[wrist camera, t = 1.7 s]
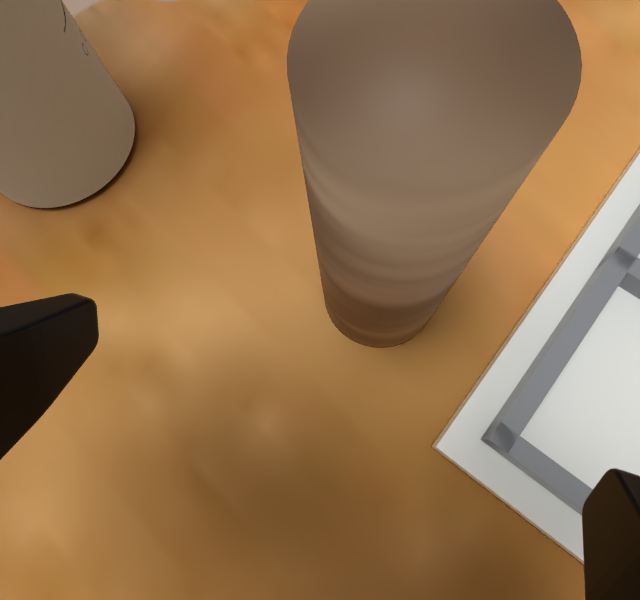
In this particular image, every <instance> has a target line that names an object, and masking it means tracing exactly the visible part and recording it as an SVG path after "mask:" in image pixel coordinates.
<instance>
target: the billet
mask: <svg viewBox="0 0 640 600" xmlns="http://www.w3.org/2000/svg"><path fill="white" fill-rule="evenodd" d="M581 69H582V63H581V52H580V46H579V43H578V39H577V35H576V32H575V30H574V28H573V25H572V23H571V21H570V19H569V17H568V15H567V14H566V12H565V11H564V9H563V7H562V6H561V5H560V3H559V2H558V1H557V0H309V1H308V2H307V4H306V5H305V7H304V9H303V10H302V12H301V13H300V15H299V17H298V19H297V21H296V23H295V26H294V28H293V30H292V34H291V38H290V41H289V45H288V54H287V75H288V81H289V87H290V93H291V99H292V105H293V111H294V117H295V123H296V129H297V135H298V141H299V147H300V154H301V160H302V166H303V172H304V178H305V184H306V190H307V196H308V202H309V208H310V214H311V220H312V226H313V232H314V238H315V244H316V251H317V257H318V263H319V269H320V275H321V281H322V287H323V293H324V299H325V304H326V308H327V311H328V314H329V316H330V318H331V320H332V322H333V323H334V324H335V326H336V327H337V328H338V329H339V330H340V331H341V332H342V333H343V334H344V335H345V336H347V337H348V338H350V339H351V340H353V341H355V342H357V343H359V344H362V345H365V346H370V347H391V346H395V345H398V344H401V343H404V342H406V341H408V340H410V339H411V338H413V337H414V336H415V335H416V334H418V333H419V332H420V331H421V330H422V329H423V327H424V326H425V325H426V323H427V322H428V320H429V319H430V317H431V316H432V315H433V313H434V312H435V310H436V309H437V307H438V306H439V304H440V303H441V301H442V300H443V299H444V297H445V296H446V294H447V293H448V291H449V290H450V288H451V287H452V285H453V284H454V282H455V281H456V280H457V278H458V277H459V275H460V274H461V272H462V271H463V269H464V268H465V266H466V265H467V263H468V262H469V261H470V259H471V258H472V256H473V255H474V253H475V252H476V250H477V249H478V247H479V246H480V244H481V243H482V242H483V240H484V239H485V237H486V236H487V234H488V233H489V231H490V230H491V228H492V227H493V225H494V224H495V223H496V221H497V220H498V218H499V217H500V215H501V214H502V212H503V211H504V209H505V208H506V207H507V205H508V204H509V202H510V201H511V199H512V198H513V196H514V195H515V193H516V192H517V190H518V189H519V188H520V186H521V185H522V183H523V182H524V180H525V179H526V177H527V176H528V174H529V173H530V171H531V170H532V169H533V167H534V166H535V164H536V163H537V161H538V160H539V158H540V157H541V155H542V154H543V152H544V151H545V150H546V148H547V147H548V145H549V144H550V142H551V141H552V139H553V138H554V136H555V135H556V133H557V132H558V131H559V129H560V128H561V126H562V125H563V123H564V121H565V120H566V118H567V117H568V115H569V114H570V112H571V109H572V107H573V105H574V102H575V100H576V98H577V94H578V90H579V86H580V82H581Z"/></svg>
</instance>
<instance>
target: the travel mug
mask: <svg viewBox="0 0 640 600" xmlns="http://www.w3.org/2000/svg"><path fill="white" fill-rule="evenodd" d="M134 135H135V122H134V116H133V113H132V110H131V107H130V105H129V103H128V102H127V100H126V98H125V97H124V95H123V94H122V92H121V91H120V89H119V88H118V86H117V84H116V83H115V81H114V80H113V78H112V77H111V75H110V74H109V72H108V71H107V69H106V68H105V66H104V65H103V63H102V61H101V60H100V58H99V57H98V55H97V54H96V52H95V51H94V49H93V48H92V46H91V45H90V43H89V42H88V40H87V38H86V37H85V35H84V34H83V32H82V31H81V29H80V28H79V26H78V25H77V23H76V22H75V20H74V19H73V17H72V15H71V14H70V12H69V11H68V10H67V8H66V6H65V5H64V3H63V2H62V0H0V193H1V194H3V195H4V196H5V197H7V198H8V199H10V200H12V201H14V202H16V203H19V204H22V205H25V206H30V207H36V208H53V207H60V206H65V205H69V204H72V203H75V202H78V201H80V200H82V199H84V198H87V197H88V196H90V195H92V194H94V193H95V192H97V191H98V190H100V189H101V188H102V187H104V186H105V185H106V184H107V183H108V182H109V181H110V180H111V179H112V178H113V177H114V176H115V175H116V174H117V173H118V172H119V170H120V169H121V168H122V166H123V165H124V163H125V161H126V159H127V157H128V155H129V153H130V151H131V148H132V145H133V141H134Z"/></svg>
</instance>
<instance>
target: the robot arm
mask: <svg viewBox="0 0 640 600" xmlns="http://www.w3.org/2000/svg"><path fill="white" fill-rule="evenodd" d="M98 338H99V332H98V318H97V306H96V304H95V302H94V301H93V300H92V299H90V298H87V297H84V296H81V295H78V294H74V293H70V294H64V295H59V296H55V297H50V298H45V299H40V300H35V301H30V302H25V303H20V304H15V305H10V306H5V307H0V460H1V459H2V458H3V457H4V455H5V454H6V453H7V452H8V451H9V450H10V449H11V448H12V447H13V446H14V445H15V444H16V443H17V442H18V441H19V440H20V439H21V438H22V437H23V436H24V434H25V433H26V432H27V431H28V430H29V429H30V428H31V427H32V426H33V425H34V424H35V423H36V422H37V421H38V419H39V418H40V417H41V416H42V415H43V414H44V413H45V412H46V410H47V409H48V408H49V407H50V406H51V404H52V403H53V402H54V401H55V399H56V398H57V397H58V395H59V394H60V393H61V392H62V390H63V389H64V388H65V386H66V385H67V384H68V383H69V381H70V380H71V379H72V377H73V376H74V375H75V374H76V372H77V371H78V370H79V368H80V367H81V366H82V365H83V363H84V362H85V361H86V359H87V358H88V357H89V356H90V354H91V353H92V352H93V350H94V349H95V347H96V345H97V342H98ZM582 530H583V554H584V578H585V599H586V600H640V476H639V475H636V474H633V473H630V472H627V471H624V470H621V469H618V468H612V469H609V470H608V471H607V472H606V473H605V474H604V475H603V476H602V478H601V479H600V481H599V482H598V483H597V485H596V486H595V487H594V489H593V490H592V491H591V493H590V494H589V496H588V497H587V498H586V500H585V502H584V505H583V509H582Z"/></svg>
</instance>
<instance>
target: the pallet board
mask: <svg viewBox="0 0 640 600" xmlns="http://www.w3.org/2000/svg"><path fill="white" fill-rule="evenodd" d="M432 447H433V448H434V449H435V450H437V451H438V452H439V453H441V454H442V455H443V456H444V457H446V458H447V459H448V460H450V461H451V462H452V463H453V464H455V465H456V466H457V467H459V468H460V469H461V470H462V471H464V472H465V473H466V474H468V475H469V476H470V477H472V478H473V479H474V480H475V481H477V482H478V483H479V484H481V485H482V486H483V487H484V488H486V489H487V490H488V491H490V492H491V493H492V494H493V495H495V496H496V497H497V498H499V499H500V500H501V501H502V502H504V503H505V504H506V505H508V506H509V507H510V508H512V509H513V510H514V511H515V512H517V513H518V514H519V515H521V516H522V517H523V518H524V519H526V520H527V521H528V522H530V523H531V524H532V525H533V526H535V527H536V528H537V529H539V530H540V531H541V532H542V533H544V534H545V535H546V536H548V537H549V538H550V539H551V540H553V541H554V542H555V543H557V544H558V545H559V546H561V547H562V548H563V549H564V550H566V551H567V552H568V553H570V554H571V555H572V556H573V557H575V558H576V559H577V560H579V561H580V562H581V563H582V564H584V554H583V530H582V509H583V505H584V502H585V500H586V498H587V497H588V496H589V494H590V493H591V491H592V490H593V489H594V487H595V486H596V485H597V483H598V482H599V481H600V479H601V478H602V476H603V475H604V474H605V473H606V472H607V471H608V470H609V469H612V468H618V469H621V470H624V471H627V472H630V473H633V474H636V475H639V476H640V148H639V150H638V151H637V152H636V154H635V155H634V157H633V158H632V160H631V161H630V162H629V164H628V165H627V167H626V168H625V170H624V171H623V172H622V174H621V175H620V177H619V178H618V180H617V181H616V183H615V184H614V185H613V187H612V188H611V190H610V191H609V193H608V194H607V195H606V197H605V198H604V200H603V201H602V203H601V204H600V205H599V207H598V208H597V210H596V211H595V213H594V214H593V216H592V217H591V218H590V220H589V221H588V223H587V224H586V226H585V227H584V228H583V230H582V231H581V233H580V234H579V236H578V237H577V238H576V240H575V241H574V243H573V244H572V246H571V247H570V249H569V250H568V251H567V253H566V254H565V256H564V257H563V259H562V260H561V261H560V263H559V264H558V266H557V267H556V269H555V270H554V271H553V273H552V274H551V276H550V277H549V279H548V280H547V282H546V283H545V284H544V286H543V287H542V289H541V290H540V292H539V293H538V294H537V296H536V297H535V299H534V300H533V302H532V303H531V304H530V306H529V307H528V309H527V310H526V312H525V313H524V315H523V316H522V317H521V319H520V320H519V322H518V323H517V325H516V326H515V327H514V329H513V330H512V332H511V333H510V335H509V336H508V337H507V339H506V340H505V342H504V343H503V345H502V346H501V348H500V349H499V350H498V352H497V353H496V355H495V356H494V358H493V359H492V360H491V362H490V363H489V365H488V366H487V368H486V369H485V370H484V372H483V373H482V375H481V376H480V378H479V379H478V380H477V382H476V383H475V385H474V386H473V388H472V389H471V391H470V392H469V393H468V395H467V396H466V398H465V399H464V401H463V402H462V403H461V405H460V406H459V408H458V409H457V411H456V412H455V413H454V415H453V416H452V418H451V419H450V421H449V422H448V424H447V425H446V426H445V428H444V429H443V431H442V432H441V434H440V435H439V436H438V438H437V439H436V441H435V442H434V444H433V445H432Z"/></svg>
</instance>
